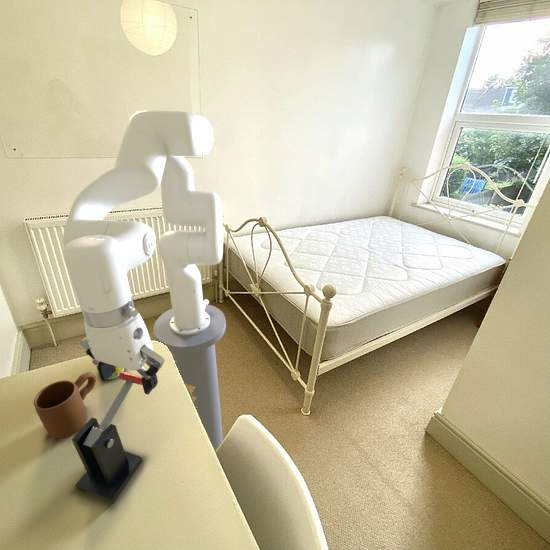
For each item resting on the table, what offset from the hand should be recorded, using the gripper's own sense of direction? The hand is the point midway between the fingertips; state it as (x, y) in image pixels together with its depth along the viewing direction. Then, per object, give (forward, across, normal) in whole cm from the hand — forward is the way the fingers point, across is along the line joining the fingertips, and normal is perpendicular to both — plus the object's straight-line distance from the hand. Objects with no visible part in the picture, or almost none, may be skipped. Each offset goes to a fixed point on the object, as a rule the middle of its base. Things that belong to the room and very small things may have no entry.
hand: (130, 382), depth 59 cm
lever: (+3, 0, +4) cm, 5 cm away
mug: (+15, +16, +2) cm, 22 cm away
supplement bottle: (+15, +18, -12) cm, 26 cm away
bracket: (+15, 0, +10) cm, 18 cm away
